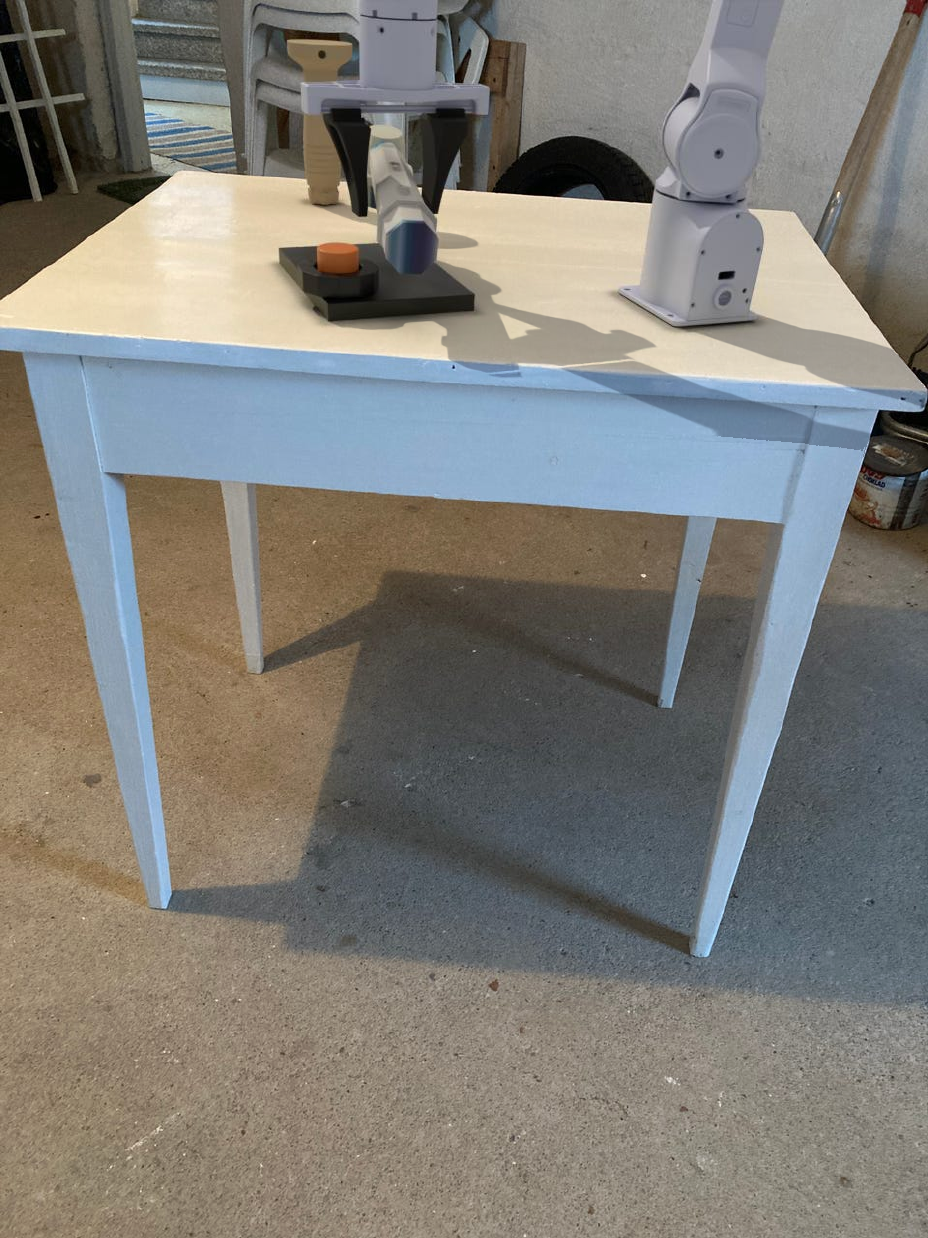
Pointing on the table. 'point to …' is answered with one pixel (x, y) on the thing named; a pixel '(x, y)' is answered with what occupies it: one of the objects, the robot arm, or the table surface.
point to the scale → (374, 287)
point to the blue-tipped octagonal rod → (399, 204)
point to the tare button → (338, 257)
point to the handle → (320, 116)
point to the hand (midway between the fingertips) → (395, 212)
